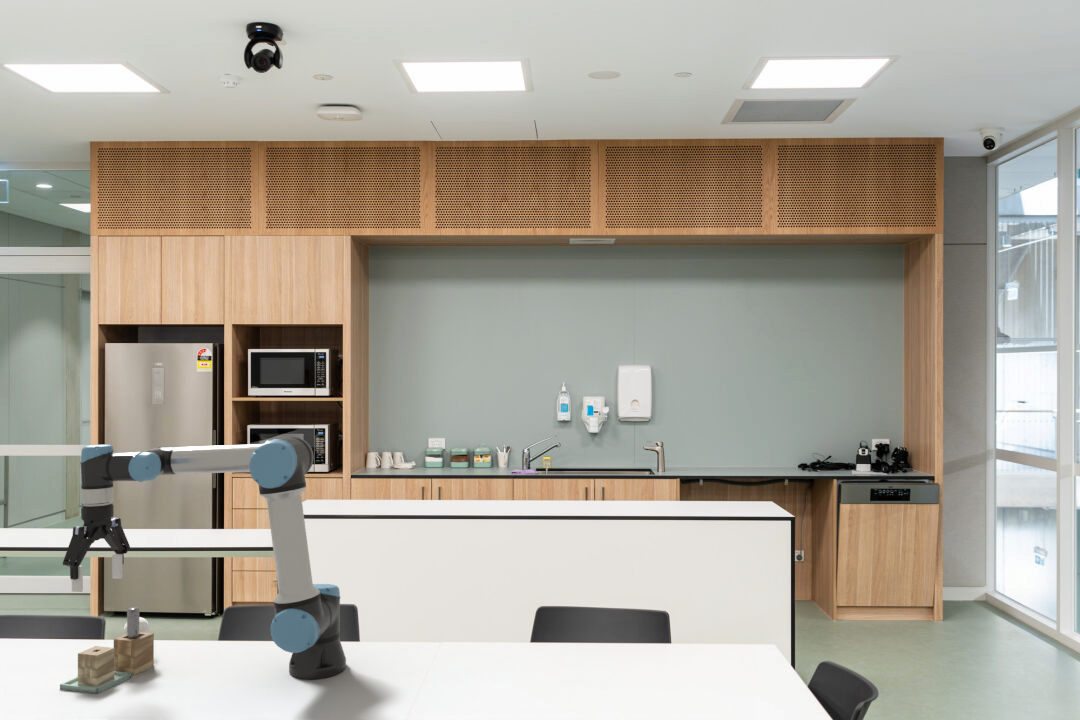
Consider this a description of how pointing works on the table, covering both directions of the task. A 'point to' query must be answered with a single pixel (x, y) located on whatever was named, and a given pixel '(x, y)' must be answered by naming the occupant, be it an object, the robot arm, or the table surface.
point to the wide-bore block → (134, 653)
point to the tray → (75, 686)
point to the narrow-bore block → (95, 666)
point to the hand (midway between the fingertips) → (97, 584)
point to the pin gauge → (133, 623)
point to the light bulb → (140, 626)
